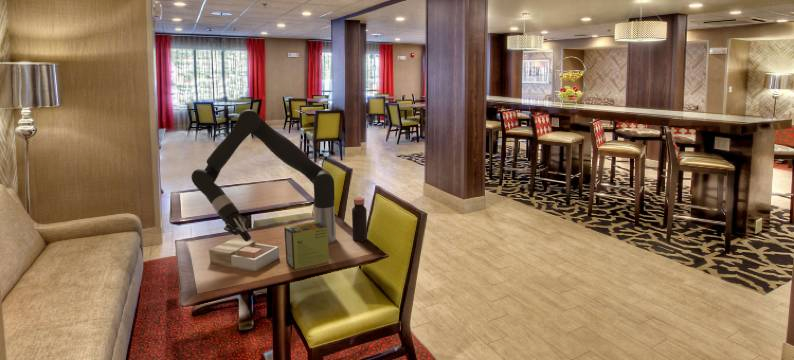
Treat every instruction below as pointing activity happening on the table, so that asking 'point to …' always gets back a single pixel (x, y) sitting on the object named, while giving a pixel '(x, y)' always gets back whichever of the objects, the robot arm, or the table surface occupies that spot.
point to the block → (250, 252)
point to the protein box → (306, 244)
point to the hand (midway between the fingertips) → (248, 240)
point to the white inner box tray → (259, 262)
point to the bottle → (359, 220)
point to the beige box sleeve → (228, 251)
